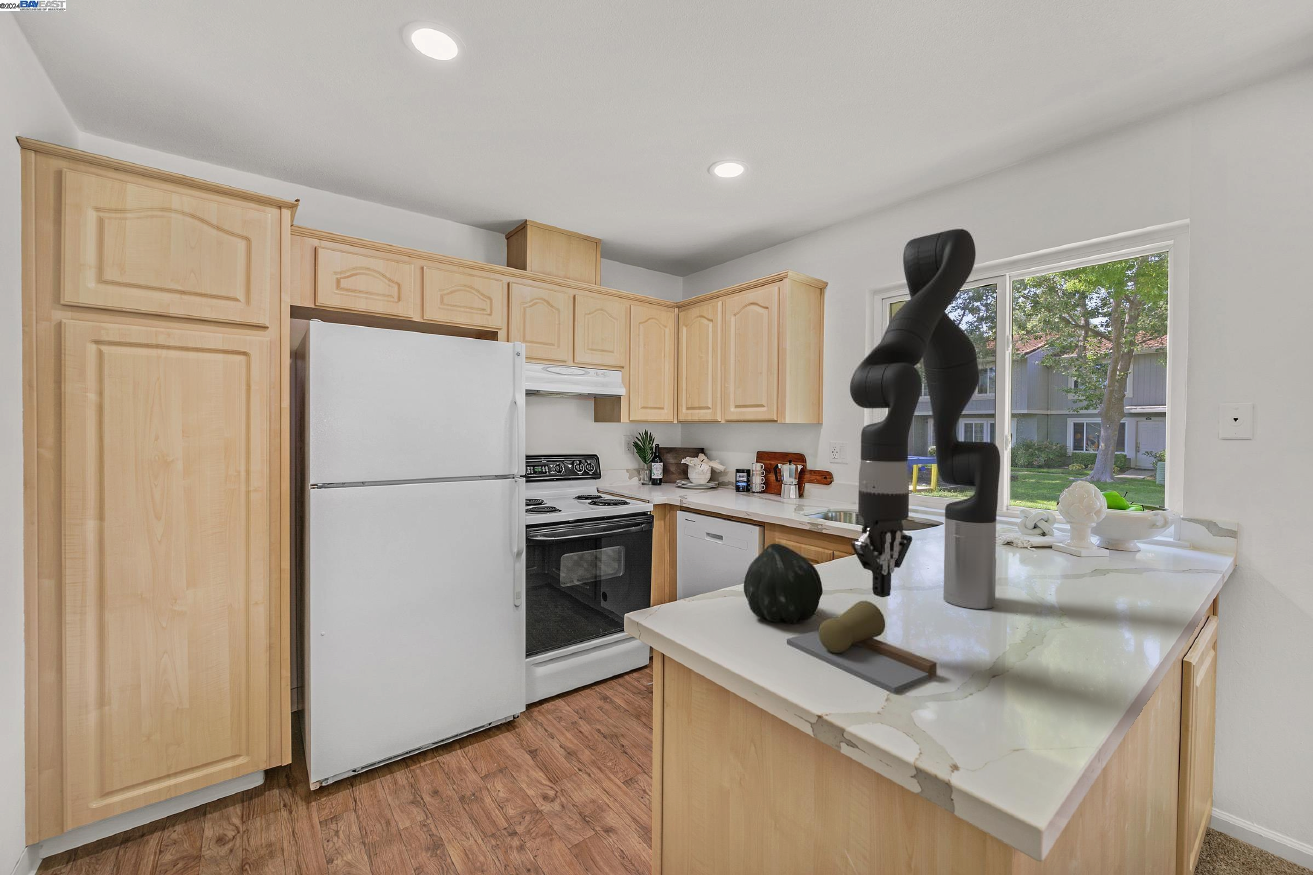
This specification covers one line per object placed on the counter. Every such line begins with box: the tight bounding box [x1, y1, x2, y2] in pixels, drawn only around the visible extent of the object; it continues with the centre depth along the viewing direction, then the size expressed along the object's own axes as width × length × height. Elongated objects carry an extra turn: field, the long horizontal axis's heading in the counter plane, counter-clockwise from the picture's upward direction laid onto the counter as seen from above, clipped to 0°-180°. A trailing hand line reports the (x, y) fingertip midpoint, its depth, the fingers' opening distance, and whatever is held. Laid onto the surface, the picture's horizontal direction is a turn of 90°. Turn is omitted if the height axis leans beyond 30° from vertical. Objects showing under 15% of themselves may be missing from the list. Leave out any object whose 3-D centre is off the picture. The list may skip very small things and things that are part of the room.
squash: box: [743, 542, 824, 624], centre depth 105 cm, size 14×15×15 cm
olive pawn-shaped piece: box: [818, 600, 886, 653], centre depth 89 cm, size 6×6×11 cm
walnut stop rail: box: [819, 621, 938, 680], centre depth 89 cm, size 2×20×2 cm, turn 32°
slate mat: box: [786, 629, 929, 694], centre depth 86 cm, size 8×20×1 cm, turn 32°
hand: (881, 595), depth 89 cm, fingers closed
